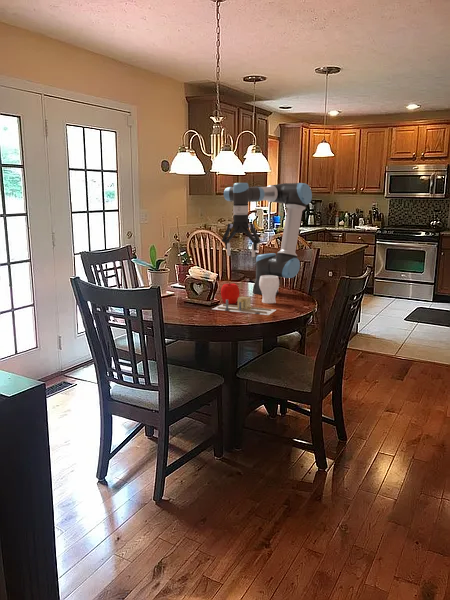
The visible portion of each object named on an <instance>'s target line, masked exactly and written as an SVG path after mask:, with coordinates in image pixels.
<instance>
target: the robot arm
mask: <svg viewBox="0 0 450 600" xmlns="http://www.w3.org/2000/svg"><path fill="white" fill-rule="evenodd" d="M312 193H313V192H312V189H311V186H310V185H309V184H307V183H305V182H304V183H303V182H292V183H291V182H290V183H289V182H288V183H287V182H284V183H277V184H270V185H267V186H249V183H248V182H235V183H233V186H228V187H226V188H225V189H224V190H223V198H224V199H225V201H227V202H233V212H232V213H233V216H232V217H233V220H232V221H233V223H228V224H227V225H226V226H227V228H226V230H225V232H224V235H223V237H222V239H221V242H223V243H224V245H225V246H224V247H225V250H226V256H228V257H230V256H231V242H230V241H232V239H233V237H234V236H235V235H236V234H240V233H241V234H245V235H246V236H247V237H248V238H249V240H250V241H251V242H252V244H251V258H255V257H256V258H255V259H256V260H255V281H254V284H253V287H252V293H254V294H256V295H262V292H261V290H260V287H259V280H260V276H264V275H274V276H278V278H283V279H293V278H295V277H296V276H297V275H298V273H299V271H300V268H301V263H300V262H301V261H300V260H299V258H298V254H297V253H296V249H297V245H298V239H299V233H300V228H301V227H300V226H301V221H302V215H303V211H305V210H306V207H307V205H309V204H310V203H311V202H312V199H313V194H312ZM261 201H267V202H269V203H278V204H285V207H286V209H287V210H286V215H285V221H284V227H283V233H282V238H281V244H280V250H279V251H277V252H276V253H274V252H272V253H262V254H258V255H256V251H257V250H258V244H260V243H261V238H260V237H259V235H258V232H257V231H256V228H255V224H254V223H252V224H250V223H249V215H248V214H249V203H252V202H254V203H255V202H261ZM232 229H233V230H232ZM249 229H250V230H251V232H250V230H249ZM231 230H232V231H231ZM230 232H231V233H230ZM277 294H279V289H278V290H277V292H276V295H277Z"/></svg>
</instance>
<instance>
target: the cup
mask: <svg viewBox="0 0 450 600" xmlns="http://www.w3.org/2000/svg"><path fill="white" fill-rule="evenodd" d="M279 278H280V277H278V276H274V275H264V276H260V280H259V287H260V290H261V292H262V294H261V295H262V296H261V297H262V299H261V303H263V304H276V303H277V301H276V296H277V294H276V292H277V290H278V291H279V287H280V279H279Z"/></svg>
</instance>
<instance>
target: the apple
mask: <svg viewBox="0 0 450 600" xmlns="http://www.w3.org/2000/svg"><path fill="white" fill-rule="evenodd" d="M220 297H221V299H222V302H223V304H226V300H228V305H235V304H236V303H238V298H239V297H240V287H239V286H238V284H236V283H231V282H228V283H224V284H222V286H221V289H220Z"/></svg>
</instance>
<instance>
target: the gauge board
mask: <svg viewBox="0 0 450 600" xmlns="http://www.w3.org/2000/svg"><path fill="white" fill-rule="evenodd" d="M212 310H214V311H215V310H217V311H225V312H232V313H233V312H235V313H246V314H253V315H254V314H255V315H264V316H270V315H271V314H273V313H274V312H276V311H277V309H272V308H268V307H267V308H266V307H265V308H264V307H257V306H255V307H253V306H251V309H250V310H246V309H241V311H239V309H238V304H237V305H235V304H228V300H226V303H223V304H219V305H217V306H216V307H214V308H213V307H212Z"/></svg>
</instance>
